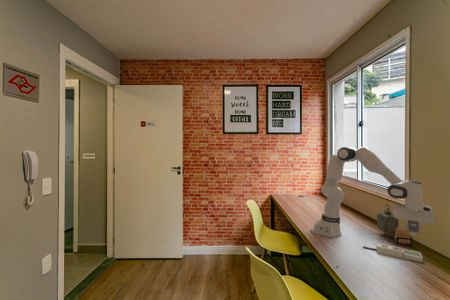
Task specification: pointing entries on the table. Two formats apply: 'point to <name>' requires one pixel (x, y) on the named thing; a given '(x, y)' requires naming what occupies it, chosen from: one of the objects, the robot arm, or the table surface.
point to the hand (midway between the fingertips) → (413, 227)
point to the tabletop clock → (387, 221)
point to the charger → (413, 227)
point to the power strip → (388, 250)
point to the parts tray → (412, 255)
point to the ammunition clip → (403, 237)
